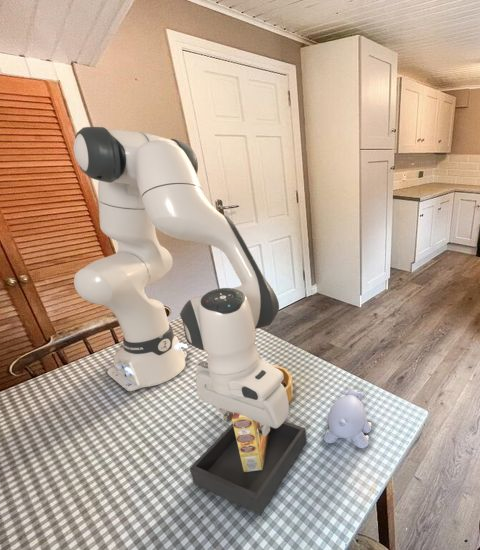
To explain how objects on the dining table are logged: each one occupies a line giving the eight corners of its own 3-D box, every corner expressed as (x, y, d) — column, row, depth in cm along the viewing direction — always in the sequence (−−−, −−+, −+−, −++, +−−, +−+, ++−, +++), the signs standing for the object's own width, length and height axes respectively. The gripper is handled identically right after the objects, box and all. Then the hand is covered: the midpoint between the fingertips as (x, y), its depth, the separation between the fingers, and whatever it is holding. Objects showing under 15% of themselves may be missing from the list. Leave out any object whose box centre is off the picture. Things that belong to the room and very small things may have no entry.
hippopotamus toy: (375, 407, 82) (375, 378, 78) (365, 458, 68) (366, 426, 64) (336, 402, 83) (335, 374, 80) (319, 451, 69) (317, 419, 66)
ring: (226, 408, 81) (222, 393, 79) (261, 374, 94) (259, 360, 92) (271, 424, 76) (269, 409, 74) (302, 386, 89) (301, 372, 87)
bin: (194, 484, 62) (189, 468, 60) (249, 422, 77) (247, 408, 75) (260, 516, 57) (256, 499, 55) (306, 443, 71) (305, 428, 69)
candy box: (263, 470, 64) (253, 416, 58) (242, 473, 64) (230, 418, 58) (269, 435, 72) (261, 384, 67) (251, 437, 72) (241, 386, 66)
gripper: (181, 368, 58) (195, 422, 63) (269, 397, 52) (277, 455, 57) (208, 350, 64) (219, 401, 69) (290, 374, 57) (296, 428, 62)
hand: (246, 425), depth 63 cm, fingers open, 8 cm apart
